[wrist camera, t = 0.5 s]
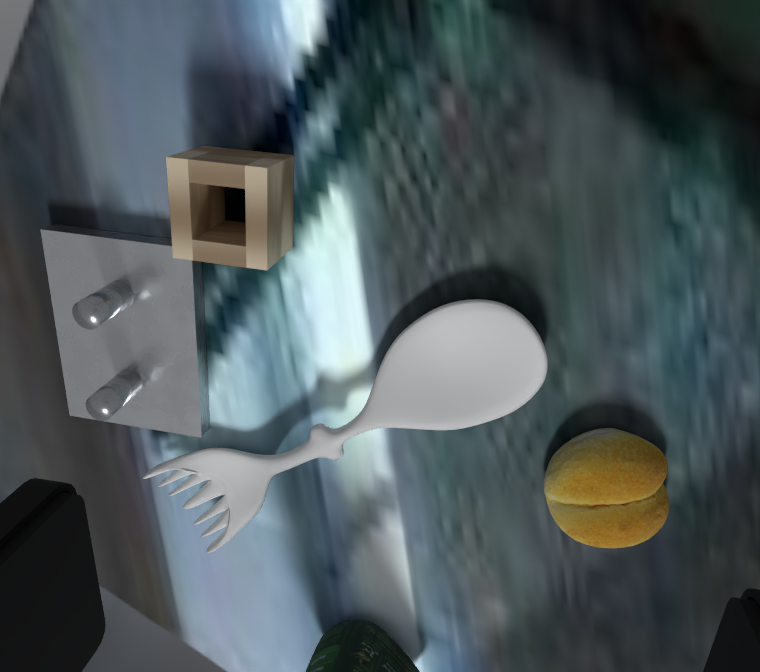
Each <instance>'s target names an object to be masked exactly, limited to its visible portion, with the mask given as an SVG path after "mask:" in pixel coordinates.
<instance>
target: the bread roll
mask: <svg viewBox="0 0 760 672" xmlns="http://www.w3.org/2000/svg"><path fill="white" fill-rule="evenodd" d="M667 472H668V467H667V460H666V458H665V456H664V454H663V453H662V451H661V450H660V449H659V448H657V447H656V446H655V445H654V444H652V443H650V442H649V441H647V440H645V439H643V438H641V437H639V436H637V435H634V434H631V433H628V432H626V431H622V430H618V429H615V428H600V429H595V430H592V431H588V432H585V433H583V434H580V435H578V436H576V437H574V438H572V439H571V440H570V441H568V442H567V443H565V444H564V445H563V446H562V447H560V448H559V449H558V450H557V451H556V452H555V454H554V455H553V456H552V458H551V460H550V462H549V464H548V467H547V471H546V472H545V477H544V492H545V496H546V500H547V504H548V507H549V510H550V513H551V515H552V516H553V518H554V520H555V521H556V523H557V524H558V526H559V527H560V528H561V529H562V530H563V531H564V532H565V533H566V534H568V535H569V536H570V537H572V538H573V539H574V540H576V541H578V542H581V543H584V544H586V545H591V546H595V547H601V548H620V547H627V546H634V545H637V544H639V543H641V542H644V541H646V540H647V539H649V538H651V537H652V536H653V535H654V534H655V533H657V532H658V531H659V530H660V528H661V527H662V526H663V525H664V523H665V521H666V518H667V515H668V509H669V500H668V494H667V491H666V488H665V486H664V484H663V482H664V480H665V478H666V475H667Z"/></svg>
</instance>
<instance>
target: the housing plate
mask: <svg viewBox="0 0 760 672" xmlns="http://www.w3.org/2000/svg"><path fill="white" fill-rule="evenodd" d="M41 235H42V242H43V248H44V254H45V261H46V267H47V273H48V280H49V286H50V292H51V299H52V305H53V312H54V318H55V324H56V331H57V337H58V343H59V350H60V356H61V363H62V369H63V375H64V382H65V388H66V394H67V401H68V407H69V414H70V415H71V416H77V417H82V418H88V419H94V420H100V421H106V422H112V423H118V424H123V425H129V426H135V427H141V428H147V429H153V430H158V431H164V432H170V433H176V434H182V435H188V436H193V437H199V438H202V437H203V436H204V434H205V433H206V432H207V431H208V429H209V428H210V418H209V397H208V376H207V355H206V334H205V313H204V292H203V271H202V262H201V261H193V260H186V259H178V258H173V251H172V239H167V238H159V237H152V236H144V235H136V234H128V233H120V232H113V231H105V230H97V229H89V228H81V227H74V226H66V225H58V224H54V225H51V226H48V227H45V228H43V229H41Z"/></svg>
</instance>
